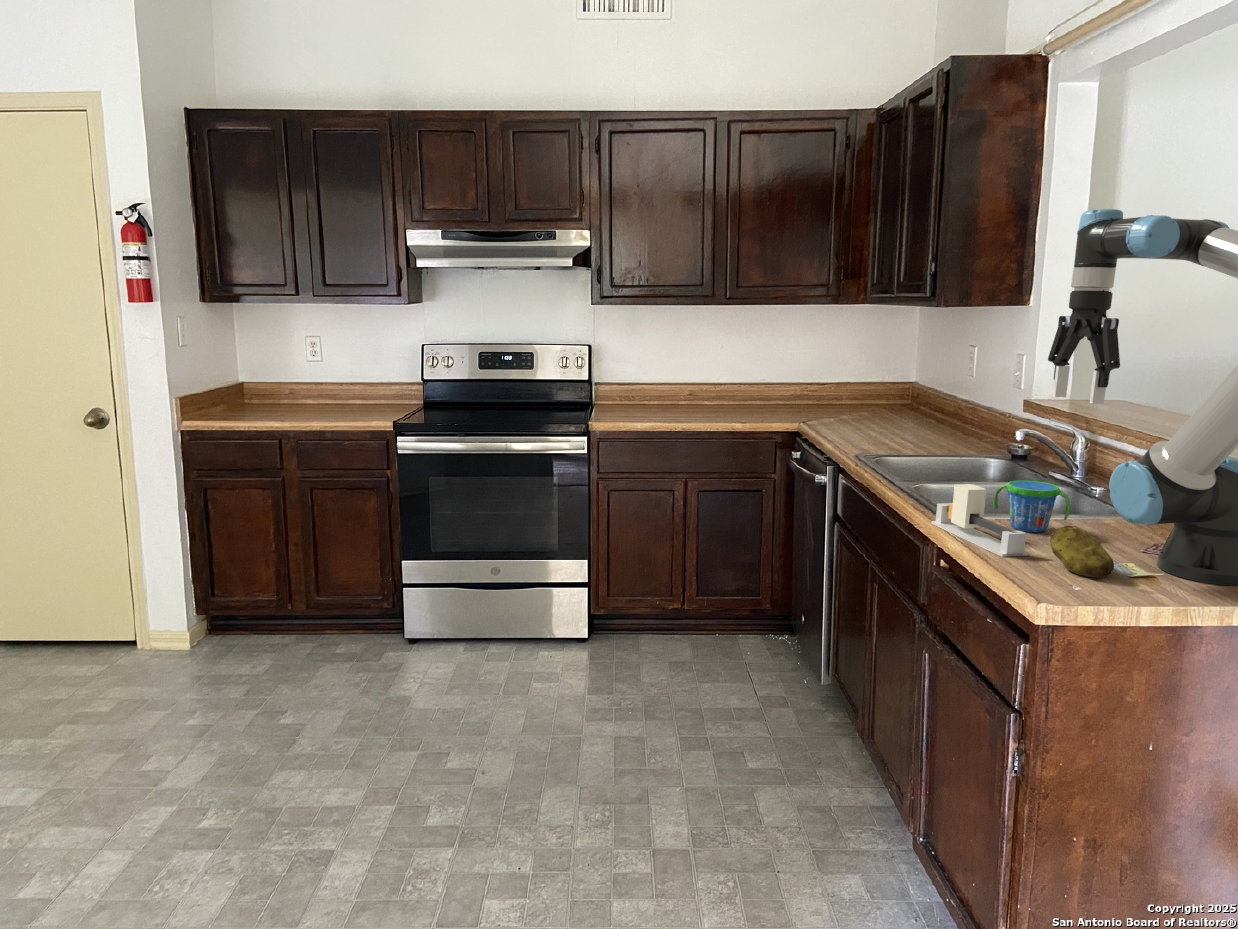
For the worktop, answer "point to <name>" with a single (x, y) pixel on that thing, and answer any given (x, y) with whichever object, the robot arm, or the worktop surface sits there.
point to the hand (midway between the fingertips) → (1077, 399)
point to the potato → (1081, 552)
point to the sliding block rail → (1006, 547)
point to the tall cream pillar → (967, 504)
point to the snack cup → (1031, 504)
